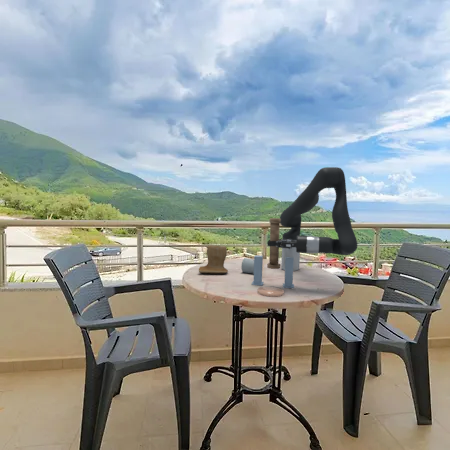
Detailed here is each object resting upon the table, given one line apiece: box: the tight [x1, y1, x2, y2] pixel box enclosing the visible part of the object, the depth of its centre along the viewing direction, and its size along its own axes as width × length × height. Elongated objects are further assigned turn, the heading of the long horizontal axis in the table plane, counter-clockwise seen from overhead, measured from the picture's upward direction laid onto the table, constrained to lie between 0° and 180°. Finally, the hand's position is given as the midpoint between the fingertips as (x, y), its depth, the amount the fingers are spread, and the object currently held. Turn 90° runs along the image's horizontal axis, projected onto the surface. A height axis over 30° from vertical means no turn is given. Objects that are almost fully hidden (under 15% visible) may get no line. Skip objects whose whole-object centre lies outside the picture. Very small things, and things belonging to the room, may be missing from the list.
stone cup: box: [198, 244, 229, 275], centre depth 170 cm, size 15×12×15 cm
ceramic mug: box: [240, 257, 254, 275], centre depth 174 cm, size 11×8×8 cm
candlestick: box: [266, 217, 281, 270], centre depth 144 cm, size 6×6×22 cm
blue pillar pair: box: [251, 255, 295, 289], centre depth 148 cm, size 19×5×13 cm, turn 77°
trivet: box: [256, 286, 285, 298], centre depth 136 cm, size 11×11×1 cm
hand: (268, 242), depth 145 cm, fingers closed on candlestick, 4 cm apart
